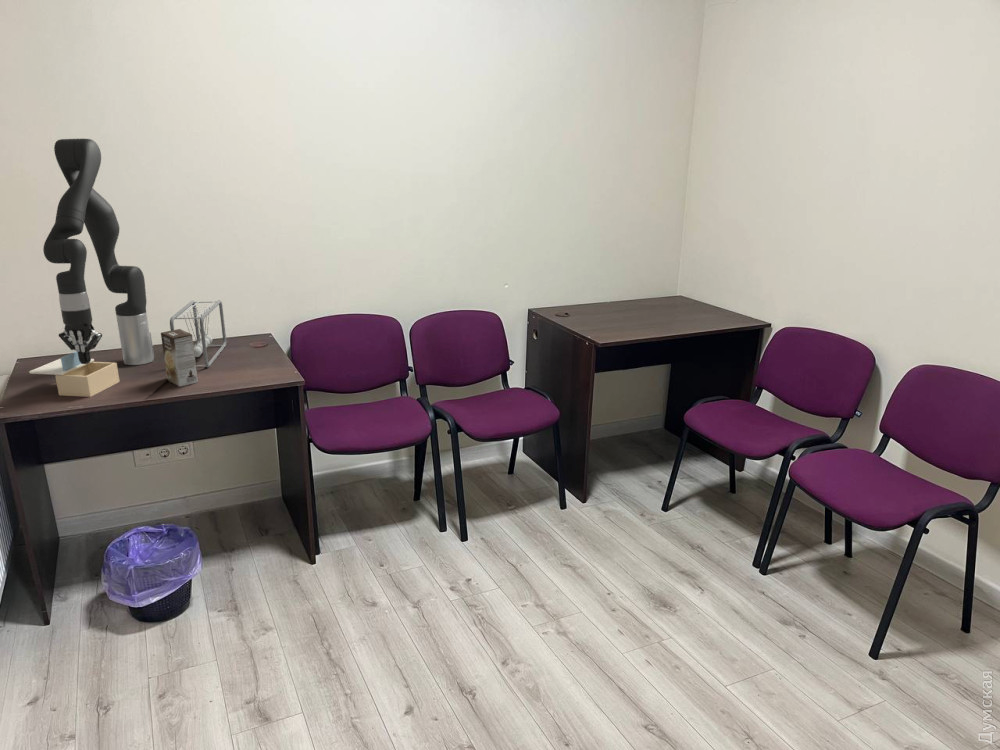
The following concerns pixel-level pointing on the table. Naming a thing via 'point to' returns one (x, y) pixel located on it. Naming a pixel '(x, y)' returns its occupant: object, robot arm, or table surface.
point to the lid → (60, 365)
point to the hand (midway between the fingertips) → (85, 363)
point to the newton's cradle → (202, 329)
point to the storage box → (88, 379)
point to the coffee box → (179, 357)
